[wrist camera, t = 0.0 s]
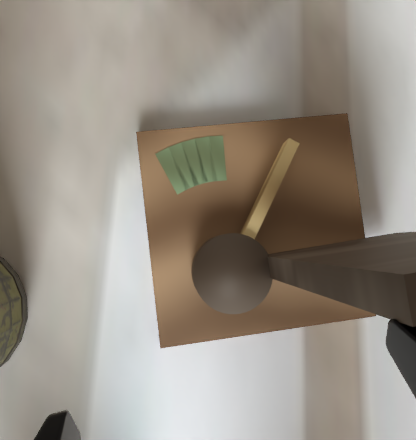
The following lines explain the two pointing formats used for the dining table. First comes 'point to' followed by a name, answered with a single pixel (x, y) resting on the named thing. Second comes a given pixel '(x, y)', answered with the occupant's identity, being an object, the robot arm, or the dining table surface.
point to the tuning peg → (307, 264)
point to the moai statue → (11, 311)
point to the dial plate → (245, 216)
